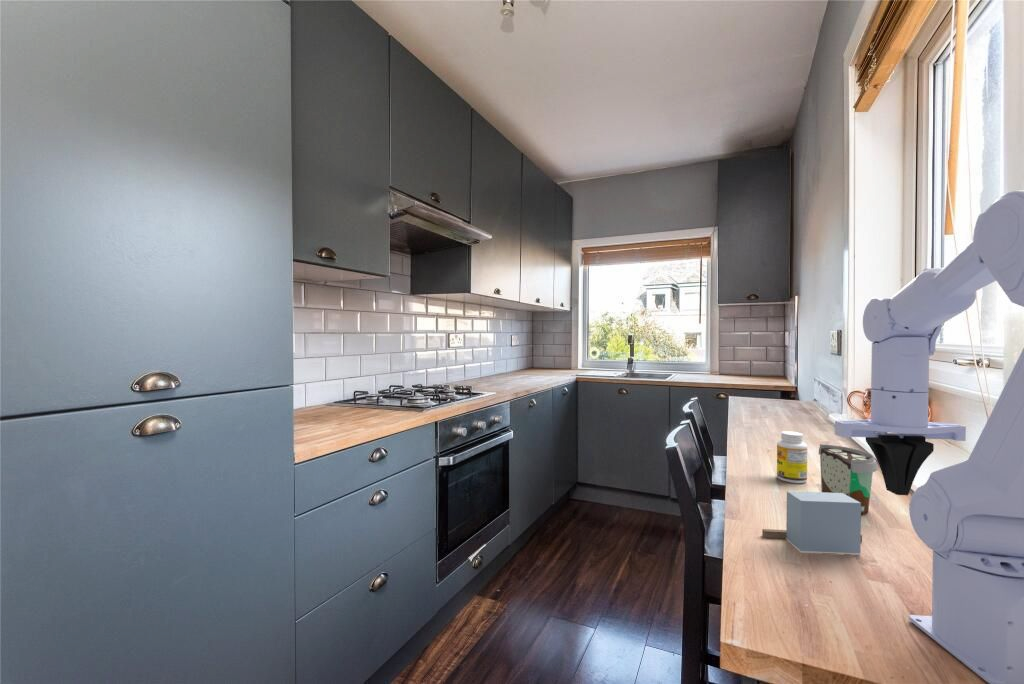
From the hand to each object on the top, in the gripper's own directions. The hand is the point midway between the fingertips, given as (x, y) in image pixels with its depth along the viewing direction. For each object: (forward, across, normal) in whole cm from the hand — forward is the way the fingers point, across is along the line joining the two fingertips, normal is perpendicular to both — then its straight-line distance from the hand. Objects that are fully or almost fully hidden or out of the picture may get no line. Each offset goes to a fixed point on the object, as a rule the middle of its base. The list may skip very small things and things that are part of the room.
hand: (897, 492), depth 59 cm
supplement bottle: (+11, -5, -38) cm, 40 cm away
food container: (+11, -9, -23) cm, 27 cm away
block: (+10, +6, -6) cm, 13 cm away
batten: (+10, +6, -8) cm, 15 cm away
